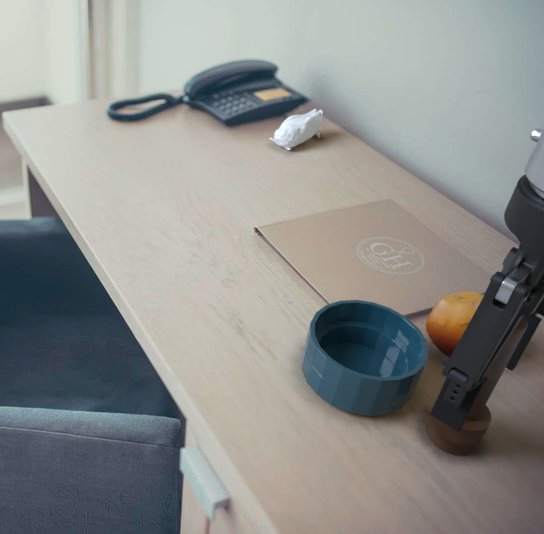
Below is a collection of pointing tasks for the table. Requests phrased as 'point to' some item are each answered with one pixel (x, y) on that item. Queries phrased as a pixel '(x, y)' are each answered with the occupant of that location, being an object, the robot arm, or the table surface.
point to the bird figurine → (298, 129)
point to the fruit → (451, 319)
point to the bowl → (363, 357)
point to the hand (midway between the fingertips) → (474, 389)
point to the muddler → (475, 407)
